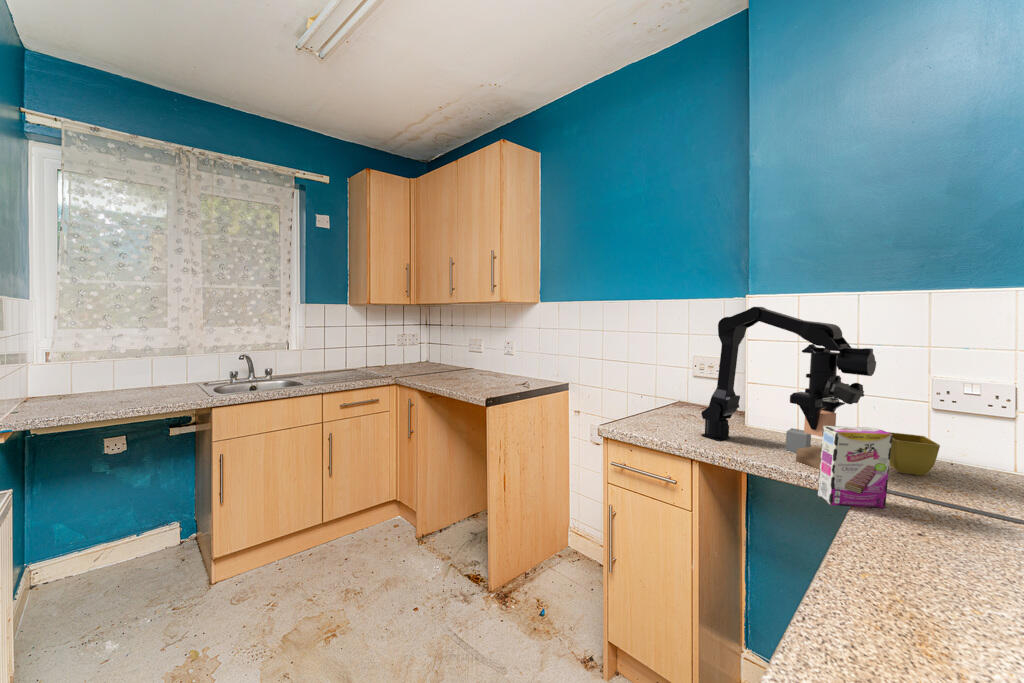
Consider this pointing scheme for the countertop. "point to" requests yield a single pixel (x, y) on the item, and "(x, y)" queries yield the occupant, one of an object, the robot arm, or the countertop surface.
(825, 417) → the terracotta block
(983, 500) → the countertop surface
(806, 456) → the base block
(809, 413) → the robot arm
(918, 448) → the flower pot
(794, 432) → the grey block
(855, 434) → the candy bar box
